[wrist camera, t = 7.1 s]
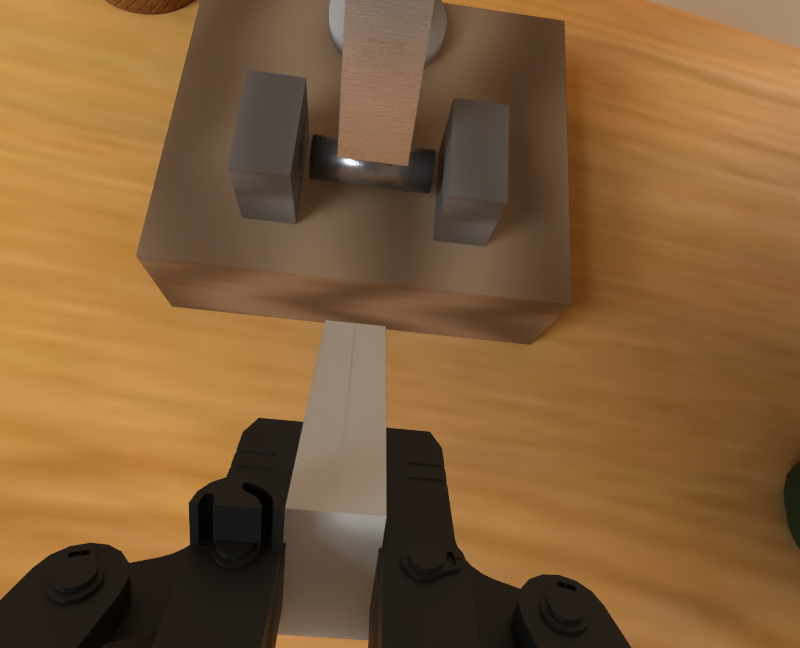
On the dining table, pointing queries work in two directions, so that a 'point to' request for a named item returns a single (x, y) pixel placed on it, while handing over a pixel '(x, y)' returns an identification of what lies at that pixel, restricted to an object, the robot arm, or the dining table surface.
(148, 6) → the disposable coffee cup
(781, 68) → the dining table surface
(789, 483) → the toy figurine
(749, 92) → the dining table surface
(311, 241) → the base
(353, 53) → the lever
